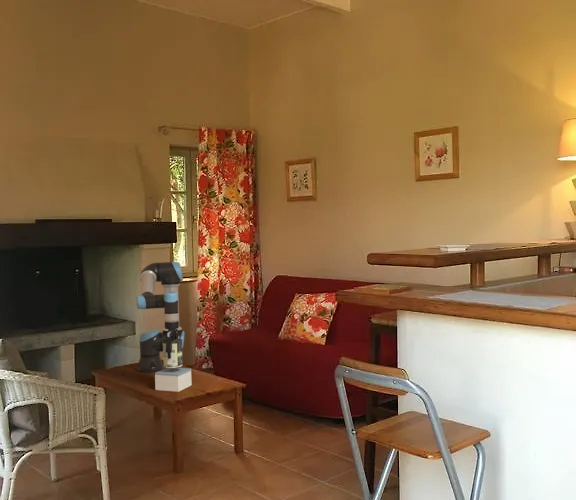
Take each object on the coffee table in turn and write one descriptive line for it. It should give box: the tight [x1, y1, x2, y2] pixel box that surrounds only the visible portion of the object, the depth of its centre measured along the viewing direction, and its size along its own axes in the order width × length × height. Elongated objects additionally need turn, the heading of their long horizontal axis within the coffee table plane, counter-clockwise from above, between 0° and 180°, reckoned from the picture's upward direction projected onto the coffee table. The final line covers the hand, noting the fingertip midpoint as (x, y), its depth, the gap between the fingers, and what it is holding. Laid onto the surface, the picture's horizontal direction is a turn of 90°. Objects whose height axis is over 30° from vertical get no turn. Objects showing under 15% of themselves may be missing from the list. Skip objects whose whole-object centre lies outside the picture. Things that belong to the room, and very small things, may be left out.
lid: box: [154, 367, 192, 376], centre depth 349 cm, size 14×14×1 cm
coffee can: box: [162, 338, 184, 369], centre depth 348 cm, size 10×10×14 cm
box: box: [154, 370, 192, 392], centre depth 349 cm, size 14×14×8 cm
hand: (172, 362), depth 348 cm, fingers closed on coffee can, 10 cm apart
